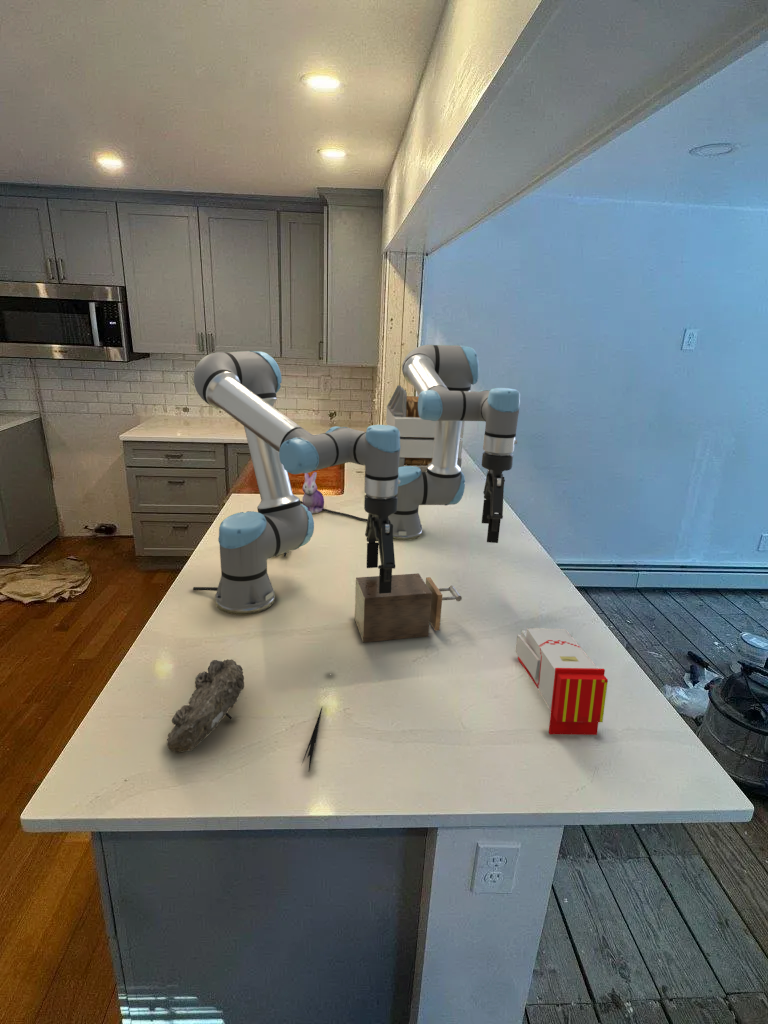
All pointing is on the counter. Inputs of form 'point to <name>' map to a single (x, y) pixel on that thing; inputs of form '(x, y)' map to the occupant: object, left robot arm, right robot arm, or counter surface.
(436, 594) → the drawer
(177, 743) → the fossil
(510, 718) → the counter surface
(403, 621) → the cabinet
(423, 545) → the counter surface
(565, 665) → the toy
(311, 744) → the feather
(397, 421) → the transformer
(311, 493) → the figurine
